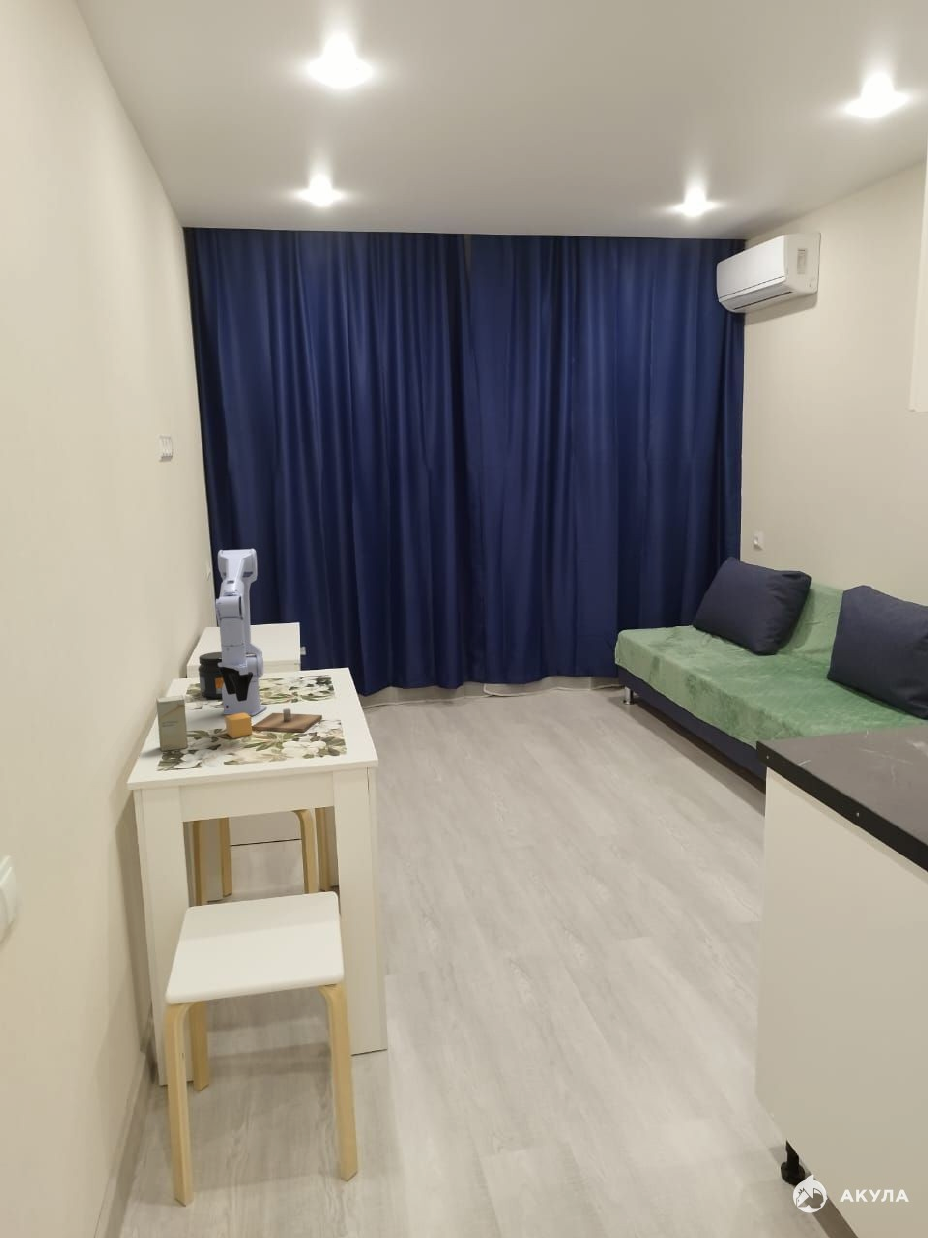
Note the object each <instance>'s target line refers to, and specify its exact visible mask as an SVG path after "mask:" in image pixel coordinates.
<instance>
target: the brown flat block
mask: <svg viewBox="0 0 928 1238" xmlns="http://www.w3.org/2000/svg"><path fill="white" fill-rule="evenodd" d="M322 719H323V715H322V714H311V713H310V714H307V713H306V714H305V713H291V708H283V711H282V712H271V713H269V714H268V715H267V716H266V717H264V718H262V719H261V720H260V721H258V722H257V723H255V724H253V725H252V731H257V732H258V731H260V732H262V731H263V732H275V733H276V732H280V733H299V734H304V733H305V732H307V731H308V730H309V729H310V728H312V727H313V726H315V725H316V724H317V723H318V722H320V721H321V720H322Z"/></svg>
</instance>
